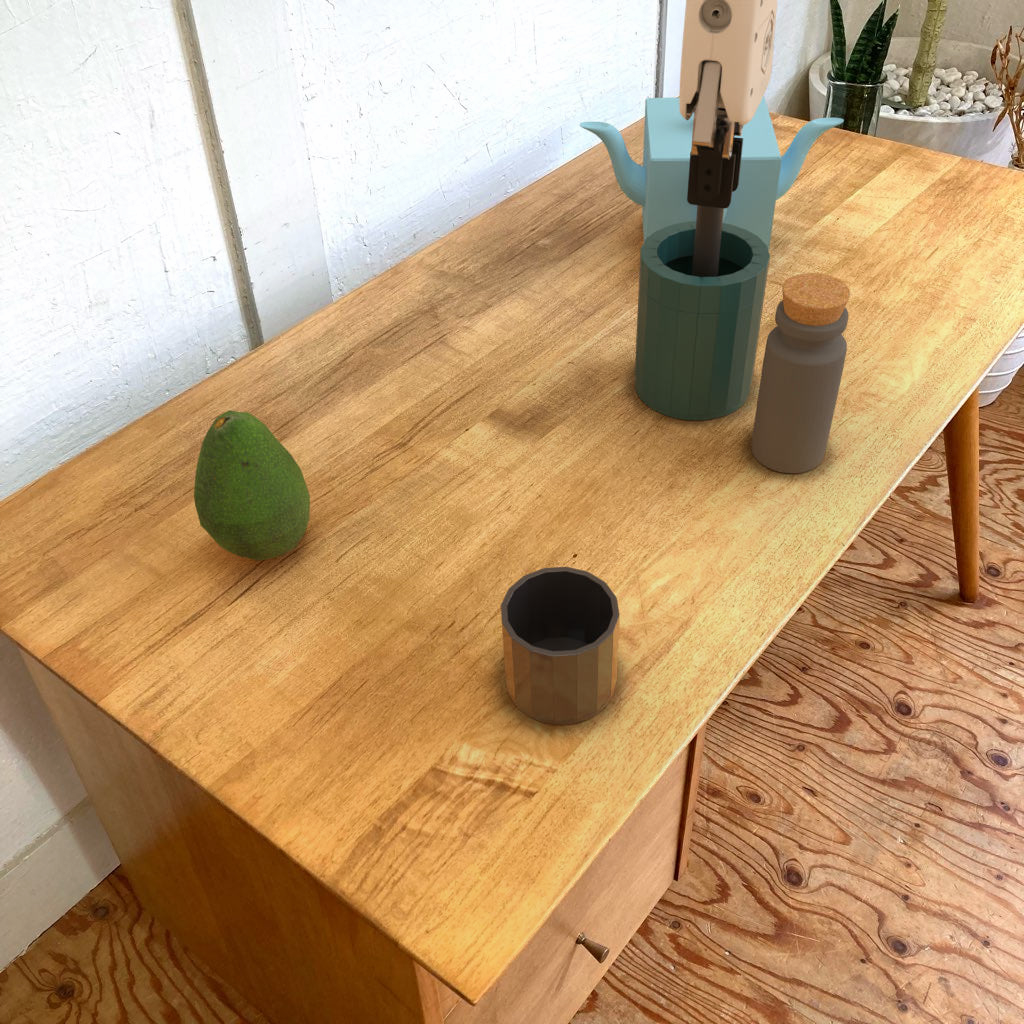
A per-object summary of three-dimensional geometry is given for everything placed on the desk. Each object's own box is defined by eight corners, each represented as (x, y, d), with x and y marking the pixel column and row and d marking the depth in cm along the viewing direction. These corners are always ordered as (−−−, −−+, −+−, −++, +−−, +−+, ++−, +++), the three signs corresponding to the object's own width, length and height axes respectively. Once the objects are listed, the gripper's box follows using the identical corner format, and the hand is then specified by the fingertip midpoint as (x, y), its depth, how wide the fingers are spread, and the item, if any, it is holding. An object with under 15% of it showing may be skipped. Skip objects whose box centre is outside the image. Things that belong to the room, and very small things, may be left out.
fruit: (281, 496, 83) (248, 373, 75) (340, 545, 79) (312, 421, 71) (194, 546, 80) (150, 423, 72) (251, 601, 75) (211, 476, 67)
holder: (628, 652, 71) (632, 581, 66) (597, 737, 66) (599, 668, 61) (527, 626, 73) (524, 556, 68) (490, 708, 68) (483, 638, 63)
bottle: (801, 484, 82) (833, 321, 72) (736, 454, 85) (758, 293, 74) (838, 446, 85) (873, 284, 75) (774, 418, 88) (800, 259, 78)
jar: (760, 362, 94) (779, 229, 85) (738, 430, 87) (756, 294, 78) (650, 344, 96) (658, 214, 88) (621, 408, 90) (626, 274, 81)
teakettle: (709, 312, 100) (724, 165, 90) (571, 243, 110) (571, 104, 100) (829, 240, 109) (855, 99, 98) (691, 182, 119) (702, 49, 109)
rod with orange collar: (729, 335, 89) (754, 114, 76) (719, 363, 86) (742, 139, 73) (679, 327, 91) (694, 109, 78) (666, 355, 88) (680, 133, 75)
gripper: (774, -34, 60) (742, 254, 73) (814, -104, 71) (780, 157, 84) (646, -40, 62) (636, 240, 75) (704, -108, 73) (687, 147, 86)
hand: (712, 194), depth 79 cm, fingers closed on rod with orange collar, 2 cm apart
